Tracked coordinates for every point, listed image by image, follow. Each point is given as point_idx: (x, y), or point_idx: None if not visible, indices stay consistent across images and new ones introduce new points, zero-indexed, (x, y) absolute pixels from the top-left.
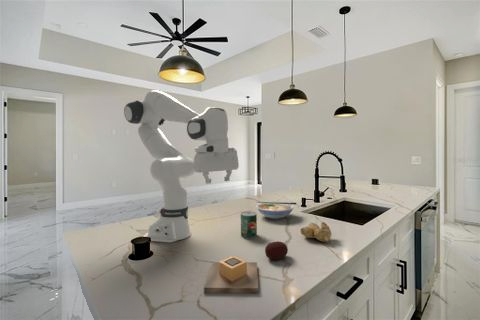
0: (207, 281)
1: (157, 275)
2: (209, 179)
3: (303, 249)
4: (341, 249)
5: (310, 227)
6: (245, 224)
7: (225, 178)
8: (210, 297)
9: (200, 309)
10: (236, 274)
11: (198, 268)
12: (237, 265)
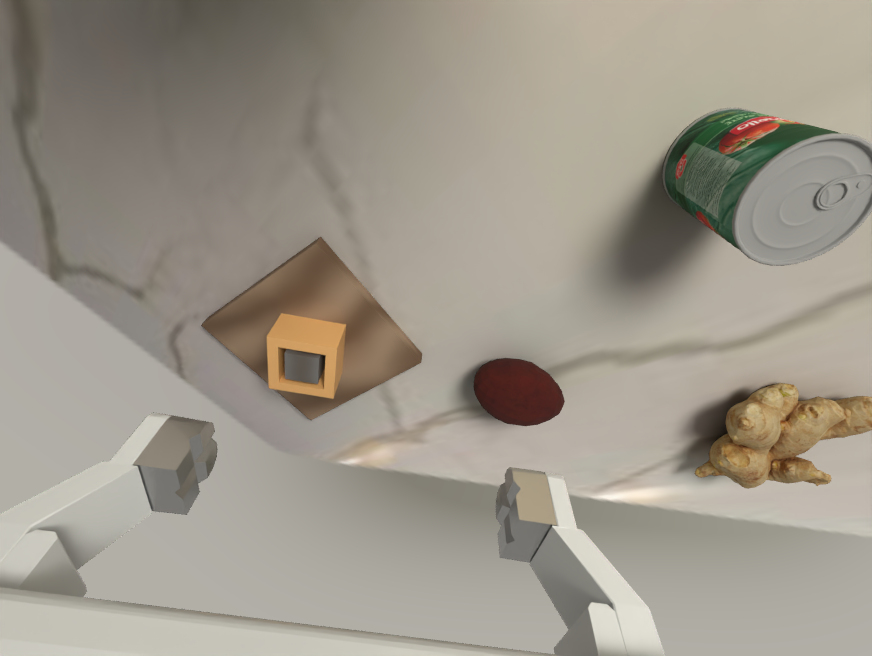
0: (225, 313)
1: (105, 102)
2: (159, 505)
3: (625, 412)
4: (669, 484)
5: (799, 429)
6: (702, 196)
7: (509, 513)
8: (212, 341)
9: (168, 350)
10: None
11: (269, 203)
12: (295, 390)
